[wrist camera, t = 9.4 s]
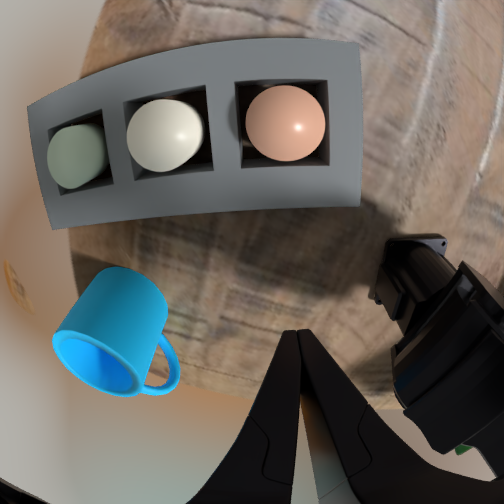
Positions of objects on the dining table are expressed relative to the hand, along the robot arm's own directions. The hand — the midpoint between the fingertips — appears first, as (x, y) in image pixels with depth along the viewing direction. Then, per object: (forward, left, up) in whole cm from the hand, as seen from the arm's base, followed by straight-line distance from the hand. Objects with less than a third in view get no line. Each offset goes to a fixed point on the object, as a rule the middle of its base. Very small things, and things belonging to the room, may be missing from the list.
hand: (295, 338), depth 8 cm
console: (+6, -6, -12) cm, 15 cm away
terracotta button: (-1, -6, -10) cm, 12 cm away
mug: (+13, +10, -12) cm, 21 cm away
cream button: (+6, -6, -10) cm, 13 cm away
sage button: (+12, -6, -10) cm, 17 cm away
